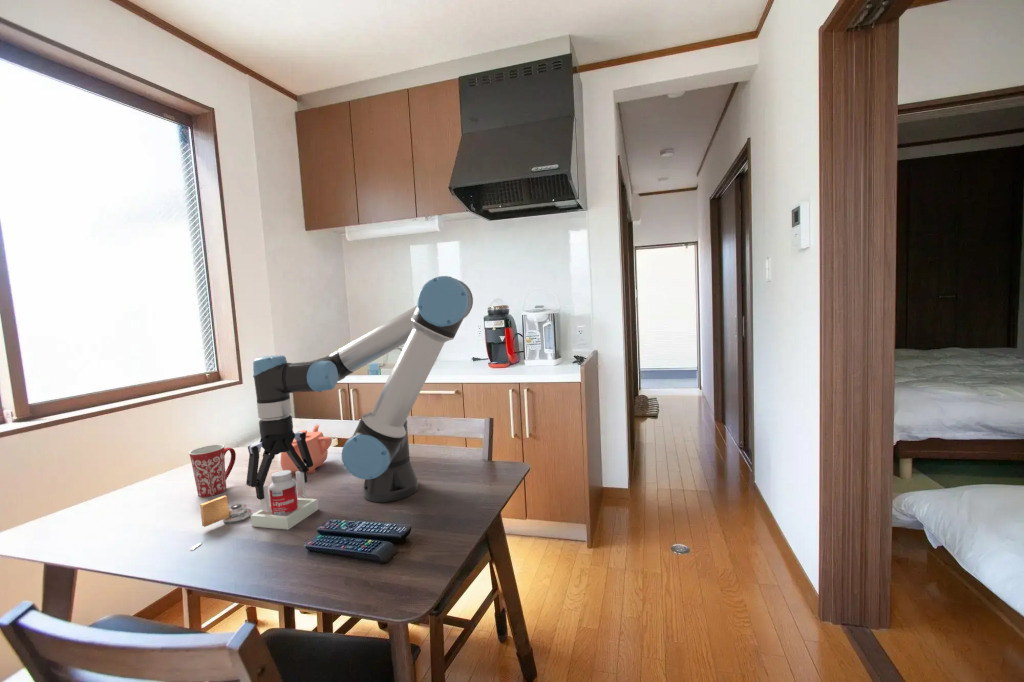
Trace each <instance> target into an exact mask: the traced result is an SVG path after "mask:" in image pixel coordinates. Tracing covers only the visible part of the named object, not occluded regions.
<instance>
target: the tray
mask: <svg viewBox="0 0 1024 682" xmlns="http://www.w3.org/2000/svg"><path fill="white" fill-rule="evenodd" d="M297 502H298V510H296V511H294V512H293V513H291V514H290V515H288V516H276V515H272V513H271V503H269V504H270V511H269V512H266V511H263V510H262V508H261V509H259V510H258V511H256V512H254V513H252V515H250V522H251V523H250V524H251V527H255V528H256V527H257V528H265V529H267V528H269V529H277V530H278V529H279V530H290V529H291V528H293V527H294V526H296V525H297V524H299V523H300V522H302V521H303V520H305V519H306V518H308V517H309V516H311V515H313V514H314V513H316V512H317V511H318V510H319V502H318V498H306V497H304V498H303V497H297Z"/></svg>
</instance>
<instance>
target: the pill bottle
mask: <svg viewBox="0 0 1024 682" xmlns="http://www.w3.org/2000/svg"><path fill="white" fill-rule="evenodd" d="M292 477H293V474H292V473H291V471H290V470H284V471H283V470H280V471H276V472H273V473H271V476H270V478H271V479H270V480H271V483H270V485H269V487H268V493H269V504H271V513H272V515H276V516H288V515H290V514H291V513H293V512H294V511H296V510H298V502H297V498H298V491H297V482H296V479H293V478H292Z"/></svg>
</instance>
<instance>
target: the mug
mask: <svg viewBox="0 0 1024 682" xmlns="http://www.w3.org/2000/svg"><path fill="white" fill-rule="evenodd" d="M227 452H230V459H229V463H228V465H227V468H226V462H225V461H226V459H225V456H226V453H227ZM188 455H189V458H190V463H191V467H192V471H193V477H194V481H195V487H196V491H197V495H198V497H200V498H208V497H212V496H216V495H220V494H221V493H223V492H225V491H226V490H227V479H228V477H229V476H230V474H231V472H232V470H233V469H234V468H233V467H234V465H235V463H236V456H237V454H236V451H235V449H234V448H232V447H226V446H225V444H219V443H218V444H210V445H209V444H208V445H203V446H201V447H197V448H194V449H192V450H190V451H189V452H188Z"/></svg>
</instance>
